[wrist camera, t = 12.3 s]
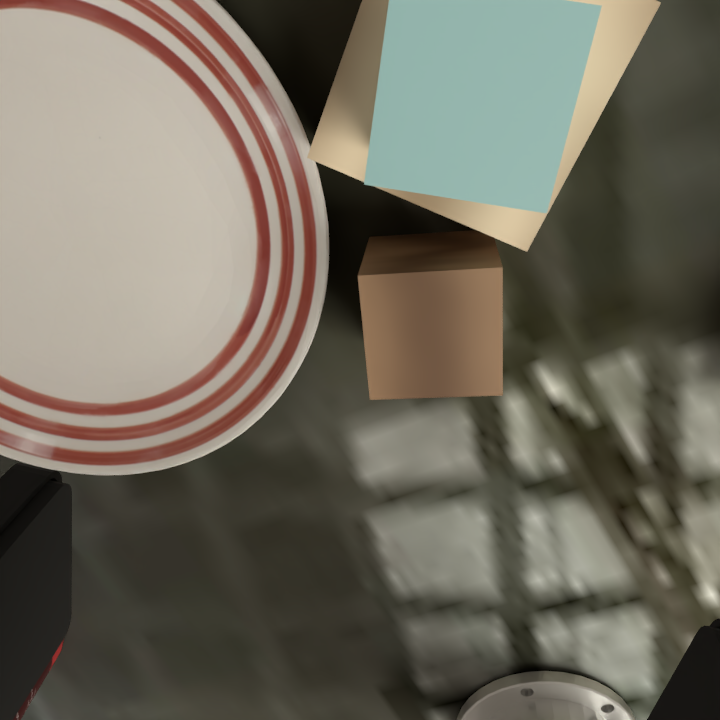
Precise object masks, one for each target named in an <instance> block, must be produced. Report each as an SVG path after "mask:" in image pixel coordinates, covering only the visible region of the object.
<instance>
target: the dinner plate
mask: <svg viewBox="0 0 720 720" xmlns="http://www.w3.org/2000/svg"><path fill="white" fill-rule="evenodd" d="M310 148H311V146H310V144H309V141H308V139H307V136H306V133H305V131H304V128H303V126H302V123H301V121H300V119H299V117H298V115H297V113H296V111H295V109H294V106H293V104H292V103H291V101H290V99H289V97H288V95H287V93H286V91H285V90H284V88H283V86H282V85H281V83H280V81H279V79H278V78H277V76H276V74H275V73H274V71H273V70H272V68H271V67H270V65H269V63H268V62H267V61H266V59H265V58H264V56H263V55H262V53H261V52H260V51H259V49H258V48H257V47H256V46H255V44H254V43H253V42H252V40H251V39H250V38H249V36H248V35H247V34H246V33H245V32H244V31H243V29H242V28H241V27H240V26H239V25H238V24H237V22H236V21H235V20H234V19H233V18H232V17H231V15H230V14H229V13H228V12H227V11H226V10H225V9H224V8H223V7H222V6H221V5H220V4H219V3H218V2H217V1H216V0H0V455H3V456H5V457H8V458H11V459H14V460H17V461H21V462H24V463H27V464H31V465H34V466H38V467H43V468H47V469H52V470H58V471H64V472H70V473H78V474H90V475H129V474H138V473H145V472H151V471H158V470H162V469H166V468H170V467H174V466H177V465H181V464H184V463H187V462H189V461H192V460H194V459H197V458H200V457H202V456H204V455H206V454H208V453H210V452H212V451H214V450H216V449H218V448H220V447H222V446H223V445H225V444H227V443H229V442H230V441H232V440H233V439H235V438H236V437H237V436H239V435H240V434H242V433H243V432H245V431H246V430H247V429H248V428H249V427H250V426H252V425H253V424H254V423H255V422H256V421H258V420H259V419H260V418H261V417H262V416H263V415H264V414H265V413H266V412H267V411H268V410H269V409H270V408H271V406H272V405H273V404H274V403H275V402H276V401H277V399H278V398H279V397H280V396H281V395H282V393H283V392H284V391H285V389H286V388H287V386H288V385H289V384H290V382H291V381H292V379H293V377H294V376H295V374H296V372H297V371H298V369H299V367H300V365H301V364H302V362H303V360H304V358H305V356H306V354H307V352H308V350H309V348H310V345H311V343H312V341H313V338H314V335H315V333H316V330H317V327H318V323H319V320H320V316H321V312H322V308H323V304H324V299H325V294H326V288H327V280H328V269H329V227H328V218H327V211H326V205H325V199H324V194H323V190H322V185H321V180H320V176H319V171H318V168H317V165H316V162H315V161H313V160H311V159H309V158H307V156H308V153H309V151H310Z"/></svg>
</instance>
